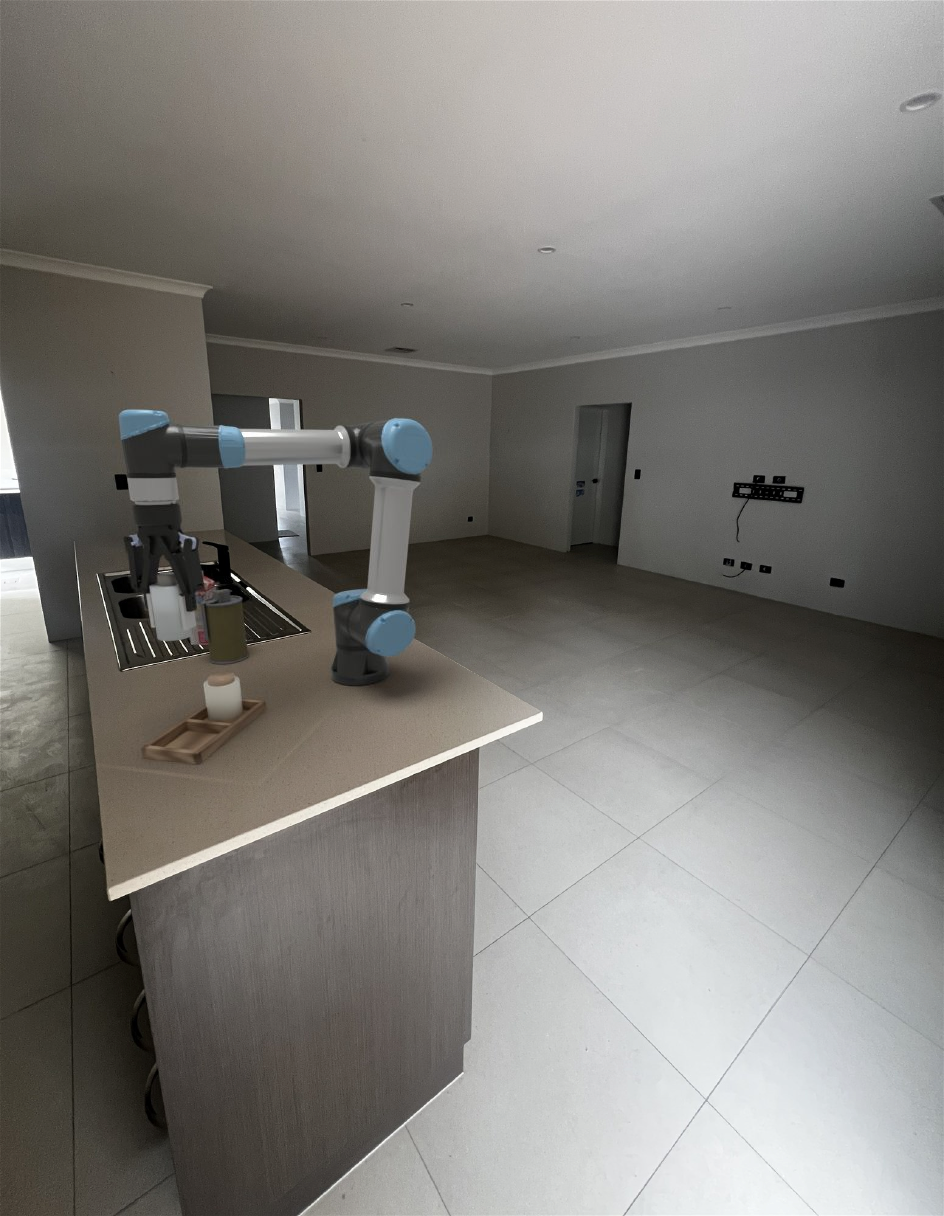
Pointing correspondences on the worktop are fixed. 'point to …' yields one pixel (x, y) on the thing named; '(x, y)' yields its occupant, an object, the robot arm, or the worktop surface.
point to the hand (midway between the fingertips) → (173, 626)
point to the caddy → (199, 735)
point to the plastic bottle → (167, 608)
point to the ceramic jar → (223, 697)
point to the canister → (224, 627)
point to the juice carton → (201, 595)
